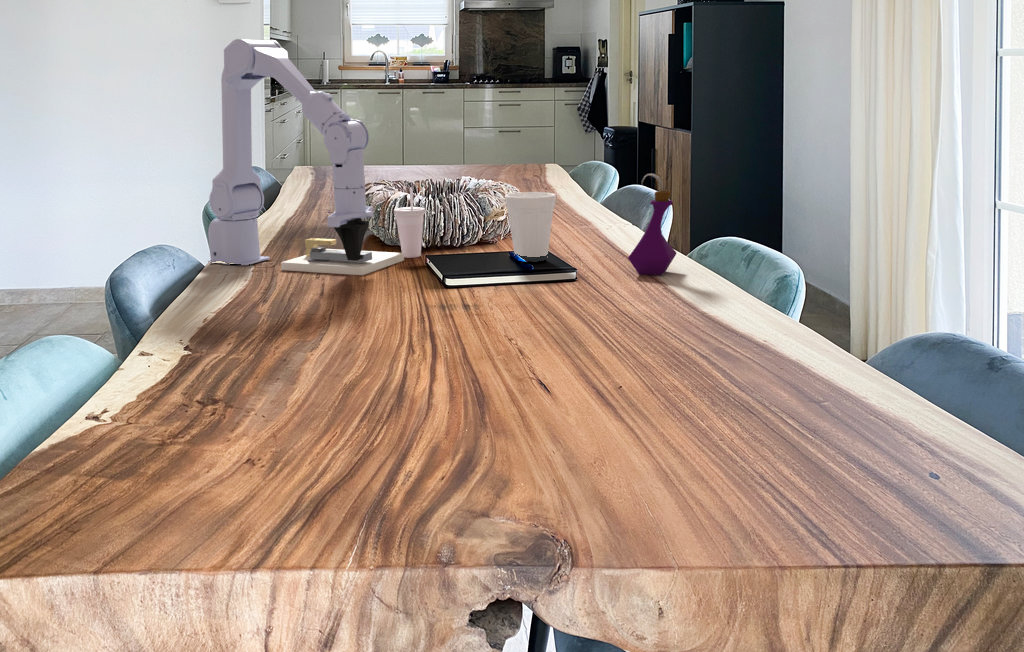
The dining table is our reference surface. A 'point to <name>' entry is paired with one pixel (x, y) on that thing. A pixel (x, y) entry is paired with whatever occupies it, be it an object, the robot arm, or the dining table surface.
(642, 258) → the perfume bottle
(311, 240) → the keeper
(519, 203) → the cup
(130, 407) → the dining table surface
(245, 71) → the robot arm
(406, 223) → the smoothie
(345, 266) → the base board
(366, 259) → the latch bar
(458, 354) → the dining table surface
